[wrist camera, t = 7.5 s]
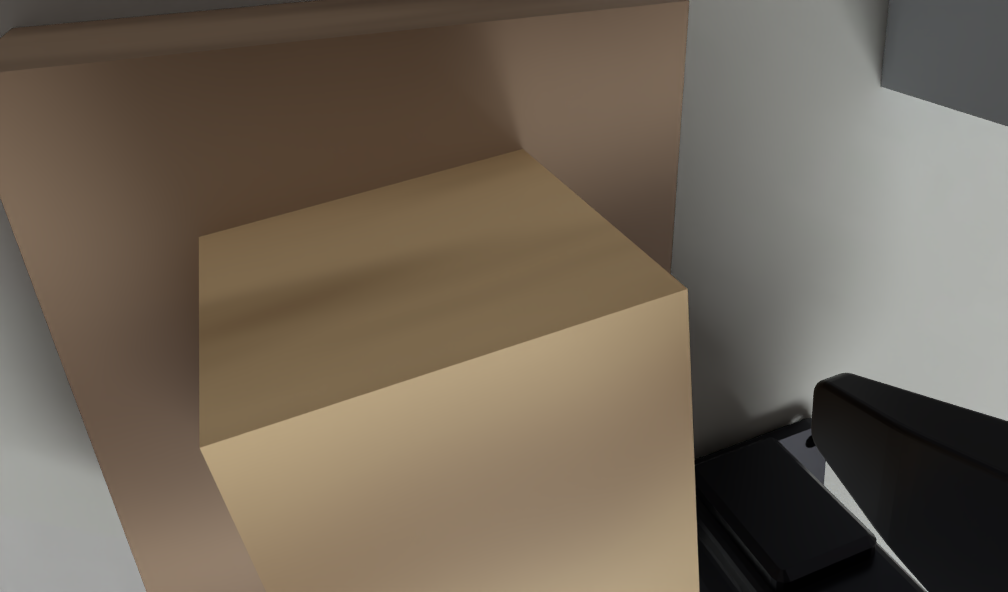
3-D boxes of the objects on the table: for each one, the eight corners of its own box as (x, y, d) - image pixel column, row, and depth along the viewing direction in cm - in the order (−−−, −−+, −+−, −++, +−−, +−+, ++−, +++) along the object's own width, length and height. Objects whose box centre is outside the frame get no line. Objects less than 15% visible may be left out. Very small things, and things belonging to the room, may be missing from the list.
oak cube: (559, 398, 15) (700, 602, 11) (297, 489, 14) (340, 751, 10) (523, 148, 12) (688, 289, 8) (198, 237, 11) (200, 447, 7)
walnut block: (580, 390, 20) (655, 492, 17) (168, 489, 18) (161, 632, 14) (583, -27, 16) (688, 0, 12) (18, 23, 13) (-46, 76, 10)
